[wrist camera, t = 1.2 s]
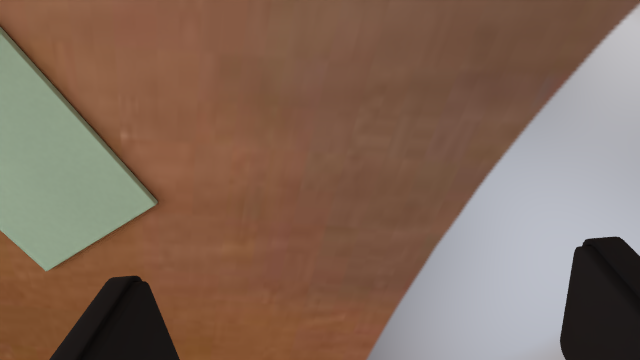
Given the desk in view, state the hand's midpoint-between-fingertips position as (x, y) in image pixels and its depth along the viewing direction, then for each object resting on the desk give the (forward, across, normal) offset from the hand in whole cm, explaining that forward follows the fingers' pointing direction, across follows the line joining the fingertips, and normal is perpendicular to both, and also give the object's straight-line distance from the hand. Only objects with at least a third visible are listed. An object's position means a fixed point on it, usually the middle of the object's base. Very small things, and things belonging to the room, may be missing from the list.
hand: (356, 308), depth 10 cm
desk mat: (+26, +29, +4) cm, 39 cm away
